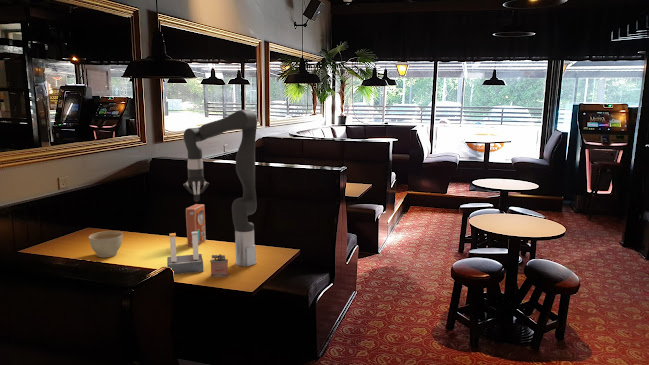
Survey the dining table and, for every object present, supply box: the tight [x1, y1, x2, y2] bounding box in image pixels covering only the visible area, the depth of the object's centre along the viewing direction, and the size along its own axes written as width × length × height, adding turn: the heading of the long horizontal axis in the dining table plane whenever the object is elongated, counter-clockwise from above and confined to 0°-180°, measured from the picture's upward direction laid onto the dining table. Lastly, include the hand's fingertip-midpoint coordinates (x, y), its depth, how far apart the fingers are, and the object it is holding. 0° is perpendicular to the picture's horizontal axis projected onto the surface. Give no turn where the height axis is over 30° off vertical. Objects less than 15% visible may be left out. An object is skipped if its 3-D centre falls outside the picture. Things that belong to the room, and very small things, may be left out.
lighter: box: [209, 254, 230, 278], centre depth 221 cm, size 8×3×10 cm, turn 92°
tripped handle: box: [168, 232, 177, 262], centre depth 224 cm, size 3×3×13 cm
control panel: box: [185, 203, 207, 247], centre depth 271 cm, size 21×7×15 cm
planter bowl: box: [88, 230, 124, 258], centre depth 251 cm, size 16×16×11 cm
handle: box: [192, 231, 200, 260], centre depth 227 cm, size 3×3×13 cm
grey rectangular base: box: [166, 253, 204, 275], centre depth 230 cm, size 12×16×5 cm
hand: (197, 201), depth 245 cm, fingers closed
